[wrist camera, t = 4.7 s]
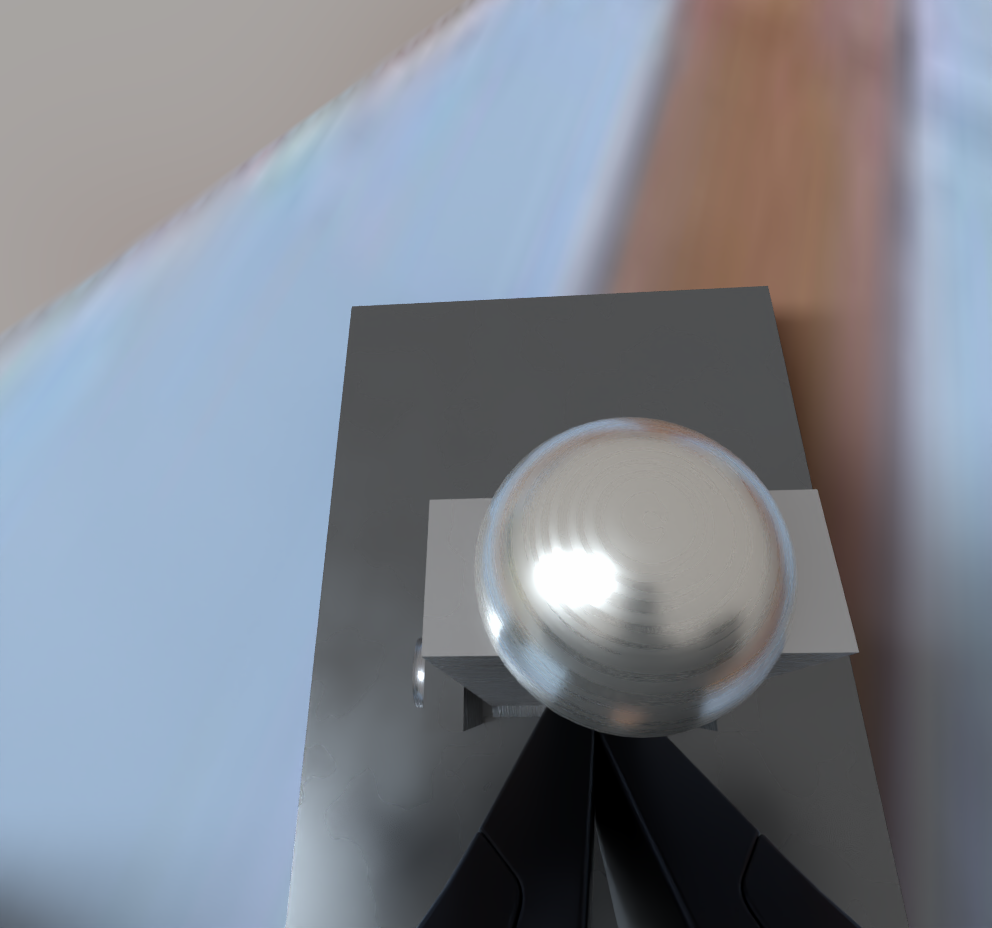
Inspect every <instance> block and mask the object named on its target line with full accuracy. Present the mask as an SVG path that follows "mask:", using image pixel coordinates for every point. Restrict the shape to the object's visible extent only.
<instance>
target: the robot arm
mask: <svg viewBox="0 0 992 928" xmlns="http://www.w3.org/2000/svg"><path fill="white" fill-rule="evenodd" d="M595 823H596V829H597V834H598V840H599V844H600V849H601V853H602V858H603V862H604V867H605V871H606V876H607V880H608V885H609V889H610V894H611V898H612V903H613V907H614V912H615V916H616V920H617V925H618V928H862V927H861V926H860V925H859V924H857V923H856V922H855V921H854V920H853V919H852V918H851V917H850V916H848V915H847V914H846V913H845V912H844V911H843V910H842V909H841V908H839V907H838V906H837V905H836V904H835V903H834V902H833V901H832V900H831V899H829V898H828V897H827V896H826V895H825V894H824V893H823V892H822V891H821V890H820V889H819V888H818V887H817V886H816V885H815V884H813V883H812V882H811V881H810V880H809V879H808V878H807V877H806V876H805V875H804V874H803V873H802V872H801V871H800V870H799V869H798V868H797V867H796V866H795V865H794V864H793V863H792V862H791V861H790V860H789V859H788V858H787V857H786V856H785V855H784V854H783V853H782V852H781V851H780V850H779V849H778V848H777V847H776V846H775V845H774V844H773V843H772V842H771V841H770V840H769V839H768V838H767V837H766V836H765V835H760V832H759V830H758V829H757V828H756V827H755V826H754V825H753V824H752V823H751V822H750V821H749V820H748V819H747V818H746V817H745V816H744V815H743V814H742V813H741V812H740V811H739V810H738V809H737V808H736V807H735V806H734V805H733V803H732V802H731V801H730V800H729V799H728V798H727V797H726V796H725V795H724V794H723V793H722V792H721V791H720V790H719V789H718V788H717V787H716V786H715V785H714V784H713V783H712V782H711V781H710V780H709V779H708V778H707V777H706V776H705V775H704V774H703V773H702V772H701V771H700V770H699V769H698V768H697V767H696V766H695V765H694V764H693V763H692V762H691V761H690V760H689V759H688V758H687V757H686V756H685V754H684V753H683V752H682V751H681V750H680V749H679V748H678V747H677V746H676V745H675V744H674V743H673V742H672V741H671V740H670V739H669V738H668V737H667V736H664V737H650V738H636V737H622V736H616V735H612V734H607V733H602V732H598V731H595V730H592V729H589V728H587V727H584V726H581V725H578V724H576V723H574V722H572V721H570V720H568V719H566V718H564V717H562V716H560V715H558V714H556V713H555V712H553V711H552V710H551V709H549V708H548V707H545V709H544V711H543V713H542V715H541V717H540V718H539V720H538V722H537V724H536V726H535V728H534V729H533V731H532V733H531V735H530V737H529V738H528V740H527V742H526V744H525V746H524V748H523V749H522V751H521V753H520V755H519V757H518V758H517V760H516V762H515V764H514V766H513V768H512V769H511V771H510V773H509V775H508V777H507V778H506V780H505V782H504V784H503V786H502V788H501V789H500V791H499V793H498V795H497V797H496V798H495V800H494V802H493V804H492V806H491V808H490V809H489V811H488V813H487V815H486V817H485V819H484V820H483V822H482V824H481V826H480V828H479V832H477V833H476V834H475V835H474V837H473V839H472V841H471V843H470V844H469V846H468V848H467V850H466V852H465V853H464V855H463V857H462V859H461V860H460V862H459V864H458V865H457V867H456V869H455V870H454V872H453V874H452V875H451V877H450V879H449V880H448V882H447V884H446V885H445V887H444V889H443V890H442V892H441V893H440V894H439V896H438V897H437V899H436V900H435V902H434V903H433V905H432V906H431V907H430V909H429V910H428V912H427V913H426V915H425V916H424V918H423V919H422V920H421V922H420V923H419V925H418V926H417V928H592V903H593V871H594V835H595Z"/></svg>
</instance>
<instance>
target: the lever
mask: <svg viewBox="0 0 992 928" xmlns="http://www.w3.org/2000/svg"><path fill="white" fill-rule="evenodd" d="M855 653H859V650H858V646H857V642H856V638H855V634H854V630H853V626H852V623H851V619H850V615H849V611H848V607H847V603H846V599H845V595H844V591H843V587H842V584H841V580H840V576H839V572H838V568H837V564H836V560H835V556H834V552H833V549H832V545H831V541H830V537H829V533H828V529H827V525H826V521H825V517H824V513H823V510H822V506H821V502H820V498H819V494H818V490H817V489H807V490H771V491H768V489H767V488H766V487H765V485H764V484H763V483H762V482H761V480H760V479H759V478H758V476H757V475H756V474H755V473H754V472H753V471H752V470H751V469H750V468H749V467H748V466H747V465H746V464H745V463H744V462H743V461H742V460H741V459H739V458H738V457H737V456H736V455H735V454H733V453H732V452H731V451H730V450H728V449H727V448H725V447H724V446H722V445H721V444H719V443H718V442H716V441H714V440H713V439H711V438H709V437H707V436H705V435H703V434H701V433H699V432H697V431H695V430H692V429H689V428H687V427H684V426H681V425H678V424H675V423H671V422H667V421H662V420H657V419H650V418H642V417H619V418H608V419H602V420H598V421H593V422H588V423H585V424H583V425H580V426H577V427H574V428H571V429H568V430H566V431H564V432H562V433H560V434H557V435H555V436H553V437H551V438H550V439H548V440H547V441H545V442H543V443H542V444H540V445H539V446H537V447H536V448H535V449H534V450H532V451H531V452H530V453H529V454H528V455H526V456H525V457H524V458H523V459H522V460H521V461H520V462H519V463H518V464H517V465H516V466H515V468H514V469H513V470H512V471H511V472H510V473H509V474H508V475H507V476H506V478H505V479H504V481H503V482H502V483H501V485H500V486H499V488H498V489H497V491H496V493H495V494H494V496H493V498H476V499H440V500H430V502H429V521H428V540H427V559H426V578H425V597H424V616H423V635H422V654H421V657H423V658H424V659H426V660H427V661H428V662H430V663H431V664H433V665H434V666H435V667H437V668H438V669H440V670H441V671H443V672H444V673H445V674H447V675H448V676H450V677H451V678H452V679H454V680H455V681H457V682H458V683H460V684H461V685H462V686H464V687H465V688H467V689H468V690H469V691H471V692H472V693H474V694H475V695H477V696H478V697H479V698H481V699H482V700H484V701H485V702H486V703H488V704H489V705H491V706H492V714H493V717H541V715H542V713H543V711H544V709H545V707H548V708H549V709H551V710H552V711H553V712H555V713H556V714H558V715H560V716H562V717H564V718H566V719H568V720H570V721H572V722H574V723H576V724H578V725H581V726H584V727H587V728H589V729H592V730H595V731H598V732H602V733H607V734H612V735H616V736H622V737H636V738H650V737H664V736H670V735H674V734H679V733H683V732H688V731H690V730H693V729H695V728H698V727H701V726H703V725H706V724H708V723H711V722H713V721H715V720H716V719H718V718H720V717H722V716H723V715H725V714H727V713H729V712H730V711H732V710H733V709H735V708H736V707H737V706H738V705H740V704H741V703H742V702H743V701H745V700H746V699H747V698H748V697H750V696H751V695H752V693H753V692H754V691H755V690H756V689H757V688H758V687H759V686H760V685H761V684H762V682H763V681H764V680H765V679H767V678H771V677H774V676H778V675H781V674H785V673H788V672H792V671H795V670H799V669H802V668H806V667H809V666H813V665H817V664H820V663H824V662H827V661H831V660H834V659H838V658H841V657H845V656H848V655H852V654H855Z"/></svg>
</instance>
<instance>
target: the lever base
mask: <svg viewBox="0 0 992 928" xmlns="http://www.w3.org/2000/svg"><path fill="white" fill-rule="evenodd" d="M619 417H642V418H650V419H657V420H662V421H667V422H671V423H675V424H678V425H681V426H684V427H687V428H689V429H692V430H695V431H697V432H699V433H701V434H703V435H705V436H707V437H709V438H711V439H713V440H714V441H716V442H718V443H719V444H721V445H722V446H724V447H725V448H727V449H728V450H730V451H731V452H732V453H733V454H735V455H736V456H737V457H738V458H739V459H741V460H742V461H743V462H744V463H745V464H746V465H747V466H748V467H749V468H750V469H751V470H752V471H753V472H754V473H755V474H756V475H757V476H758V478H759V479H760V480H761V482H762V483H763V484H764V485H765V487H766V488H767V489H768V491H771V490H807V489H812V484H811V479H810V475H809V470H808V466H807V461H806V457H805V452H804V448H803V443H802V439H801V434H800V429H799V425H798V420H797V416H796V411H795V407H794V402H793V398H792V393H791V389H790V384H789V379H788V375H787V370H786V366H785V361H784V357H783V352H782V348H781V343H780V339H779V334H778V329H777V325H776V320H775V316H774V311H773V307H772V302H771V298H770V293H769V289H768V286H758V287H738V288H718V289H698V290H677V291H657V292H637V293H617V294H597V295H576V296H556V297H536V298H516V299H495V300H475V301H455V302H435V303H415V304H394V305H374V306H354V307H352V310H351V319H350V329H349V338H348V347H347V357H346V366H345V375H344V385H343V394H342V403H341V413H340V422H339V431H338V441H337V450H336V459H335V469H334V478H333V487H332V497H331V506H330V515H329V525H328V534H327V543H326V553H325V562H324V571H323V581H322V590H321V599H320V609H319V618H318V627H317V637H316V646H315V655H314V665H313V674H312V684H311V693H310V702H309V712H308V721H307V730H306V740H305V749H304V758H303V768H302V777H301V786H300V796H299V805H298V814H297V824H296V833H295V842H294V852H293V861H292V870H291V880H290V889H289V898H288V908H287V917H286V926H285V928H417V926H418V925H419V923H420V922H421V920H422V919H423V918H424V916H425V915H426V913H427V912H428V910H429V909H430V907H431V906H432V905H433V903H434V902H435V900H436V899H437V897H438V896H439V894H440V893H441V892H442V890H443V889H444V887H445V885H446V884H447V882H448V880H449V879H450V877H451V875H452V874H453V872H454V870H455V869H456V867H457V865H458V864H459V862H460V860H461V859H462V857H463V855H464V853H465V852H466V850H467V848H468V846H469V844H470V843H471V841H472V839H473V837H474V835H475V834H476V833H477V832H479V828H480V826H481V824H482V822H483V820H484V819H485V817H486V815H487V813H488V811H489V809H490V808H491V806H492V804H493V802H494V800H495V798H496V797H497V795H498V793H499V791H500V789H501V788H502V786H503V784H504V782H505V780H506V778H507V777H508V775H509V773H510V771H511V769H512V768H513V766H514V764H515V762H516V760H517V758H518V757H519V755H520V753H521V751H522V749H523V748H524V746H525V744H526V742H527V740H528V738H529V737H530V735H531V733H532V731H533V729H534V728H535V726H536V724H537V722H538V720H539V718H540V717H493V714H492V706H491V705H489V704H488V703H486V702H485V701H484V700H482V699H481V698H479V697H478V696H477V695H475V694H474V693H472V692H471V691H469V690H468V689H467V688H465V687H464V686H462V685H461V684H460V683H458V682H457V681H455V680H454V679H452V678H451V677H450V676H448V675H447V674H445V673H444V672H443V671H441V670H440V669H438V668H437V667H435V666H434V665H433V664H431V663H430V662H428V661H427V660H426V659H424V658H423V657H421V654H422V635H423V616H424V597H425V578H426V559H427V540H428V521H429V502H430V500H440V499H476V498H493V496H494V494H495V493H496V491H497V489H498V488H499V486H500V485H501V483H502V482H503V481H504V479H505V478H506V476H507V475H508V474H509V473H510V472H511V471H512V470H513V469H514V468H515V466H516V465H517V464H518V463H519V462H520V461H521V460H522V459H523V458H524V457H525V456H526V455H528V454H529V453H530V452H531V451H532V450H534V449H535V448H536V447H537V446H539V445H540V444H542V443H543V442H545V441H547V440H548V439H550V438H551V437H553V436H555V435H557V434H560V433H562V432H564V431H566V430H568V429H571V428H574V427H577V426H580V425H583V424H585V423H588V422H593V421H598V420H602V419H608V418H619ZM667 737H668V738H669V739H670V740H671V741H672V742H673V743H674V744H675V745H676V746H677V747H678V748H679V749H680V750H681V751H682V752H683V753H684V754H685V756H686V757H687V758H688V759H689V760H690V761H691V762H692V763H693V764H694V765H695V766H696V767H697V768H698V769H699V770H700V771H701V772H702V773H703V774H704V775H705V776H706V777H707V778H708V779H709V780H710V781H711V782H712V783H713V784H714V785H715V786H716V787H717V788H718V789H719V790H720V791H721V792H722V793H723V794H724V795H725V796H726V797H727V798H728V799H729V800H730V801H731V802H732V803H733V805H734V806H735V807H736V808H737V809H738V810H739V811H740V812H741V813H742V814H743V815H744V816H745V817H746V818H747V819H748V820H749V821H750V822H751V823H752V824H753V825H754V826H755V827H756V828H757V829H758V830H759V832H760V835H765V836H766V837H767V838H768V839H769V840H770V841H771V842H772V843H773V844H774V845H775V846H776V847H777V848H778V849H779V850H780V851H781V852H782V853H783V854H784V855H785V856H786V857H787V858H788V859H789V860H790V861H791V862H792V863H793V864H794V865H795V866H796V867H797V868H798V869H799V870H800V871H801V872H802V873H803V874H804V875H805V876H806V877H807V878H808V879H809V880H810V881H811V882H812V883H813V884H815V885H816V886H817V887H818V888H819V889H820V890H821V891H822V892H823V893H824V894H825V895H826V896H827V897H828V898H829V899H831V900H832V901H833V902H834V903H835V904H836V905H837V906H838V907H839V908H841V909H842V910H843V911H844V912H845V913H846V914H847V915H848V916H850V917H851V918H852V919H853V920H854V921H855V922H856V923H857V924H859V925H860V926H861V927H862V928H909V925H908V920H907V916H906V911H905V907H904V902H903V898H902V893H901V889H900V884H899V880H898V875H897V870H896V866H895V861H894V857H893V852H892V848H891V843H890V839H889V834H888V830H887V825H886V820H885V816H884V811H883V807H882V802H881V798H880V793H879V789H878V784H877V780H876V775H875V770H874V766H873V761H872V757H871V752H870V748H869V743H868V739H867V734H866V730H865V725H864V720H863V716H862V711H861V707H860V702H859V698H858V693H857V689H856V684H855V680H854V675H853V670H852V666H851V661H850V657H849V655H848V656H845V657H841V658H838V659H834V660H831V661H827V662H824V663H820V664H817V665H813V666H809V667H806V668H802V669H799V670H795V671H792V672H788V673H785V674H781V675H778V676H774V677H771V678H767V679H765V680H764V681H763V682H762V684H761V685H760V686H759V687H758V688H757V689H756V690H755V691H754V692H753V693H752V695H751V696H750V697H748V698H747V699H746V700H745V701H743V702H742V703H741V704H740V705H738V706H737V707H736V708H735V709H733V710H732V711H730V712H729V713H727V714H725V715H723V716H722V717H720V718H718V719H716V720H715V721H713V722H711V723H708V724H706V725H703V726H701V727H698V728H695V729H693V730H690V731H688V732H683V733H679V734H674V735H670V736H667ZM592 928H618V925H617V920H616V916H615V912H614V907H613V903H612V898H611V894H610V889H609V885H608V880H607V876H606V871H605V867H604V862H603V858H602V853H601V849H600V844H599V840H598V834H597V829H596V823H595V835H594V871H593V903H592Z"/></svg>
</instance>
